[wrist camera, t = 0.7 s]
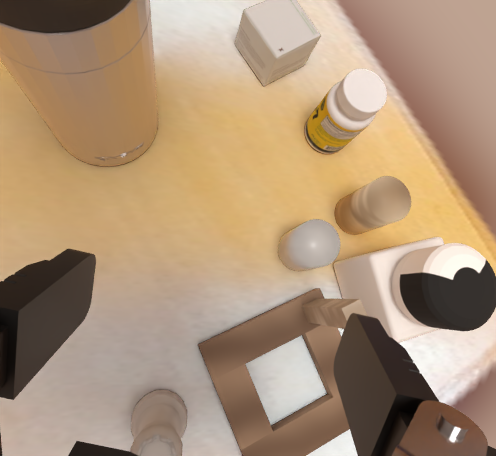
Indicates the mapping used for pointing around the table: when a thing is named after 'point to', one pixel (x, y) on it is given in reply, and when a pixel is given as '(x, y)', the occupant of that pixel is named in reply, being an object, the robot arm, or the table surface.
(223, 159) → the table surface
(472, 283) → the medicine bottle
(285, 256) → the short grey peg
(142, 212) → the table surface
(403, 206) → the medium beech peg
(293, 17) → the small box
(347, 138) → the supplement bottle
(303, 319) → the hole board
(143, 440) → the rook chess piece
